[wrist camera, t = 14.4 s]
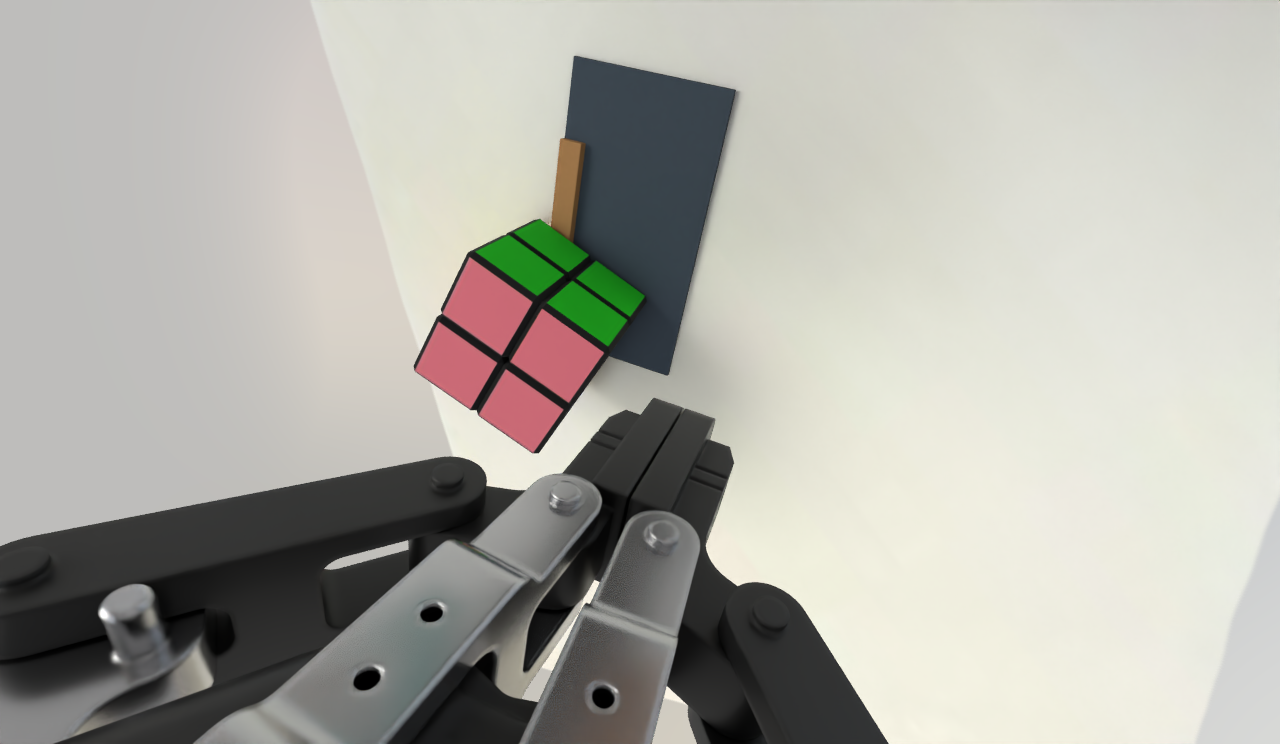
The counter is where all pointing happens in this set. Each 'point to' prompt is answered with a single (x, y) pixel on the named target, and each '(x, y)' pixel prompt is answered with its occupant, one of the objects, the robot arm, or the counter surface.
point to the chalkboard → (640, 188)
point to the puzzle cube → (526, 331)
